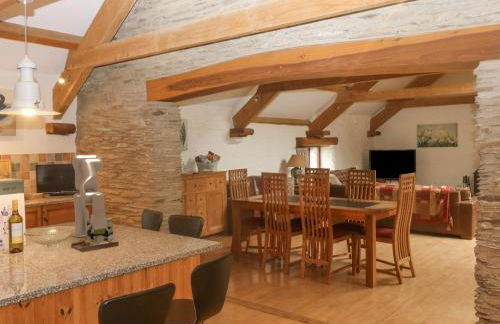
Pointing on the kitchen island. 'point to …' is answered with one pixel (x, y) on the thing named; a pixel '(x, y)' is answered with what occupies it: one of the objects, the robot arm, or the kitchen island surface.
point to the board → (86, 247)
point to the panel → (98, 241)
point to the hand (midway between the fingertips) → (99, 238)
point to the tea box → (101, 230)
